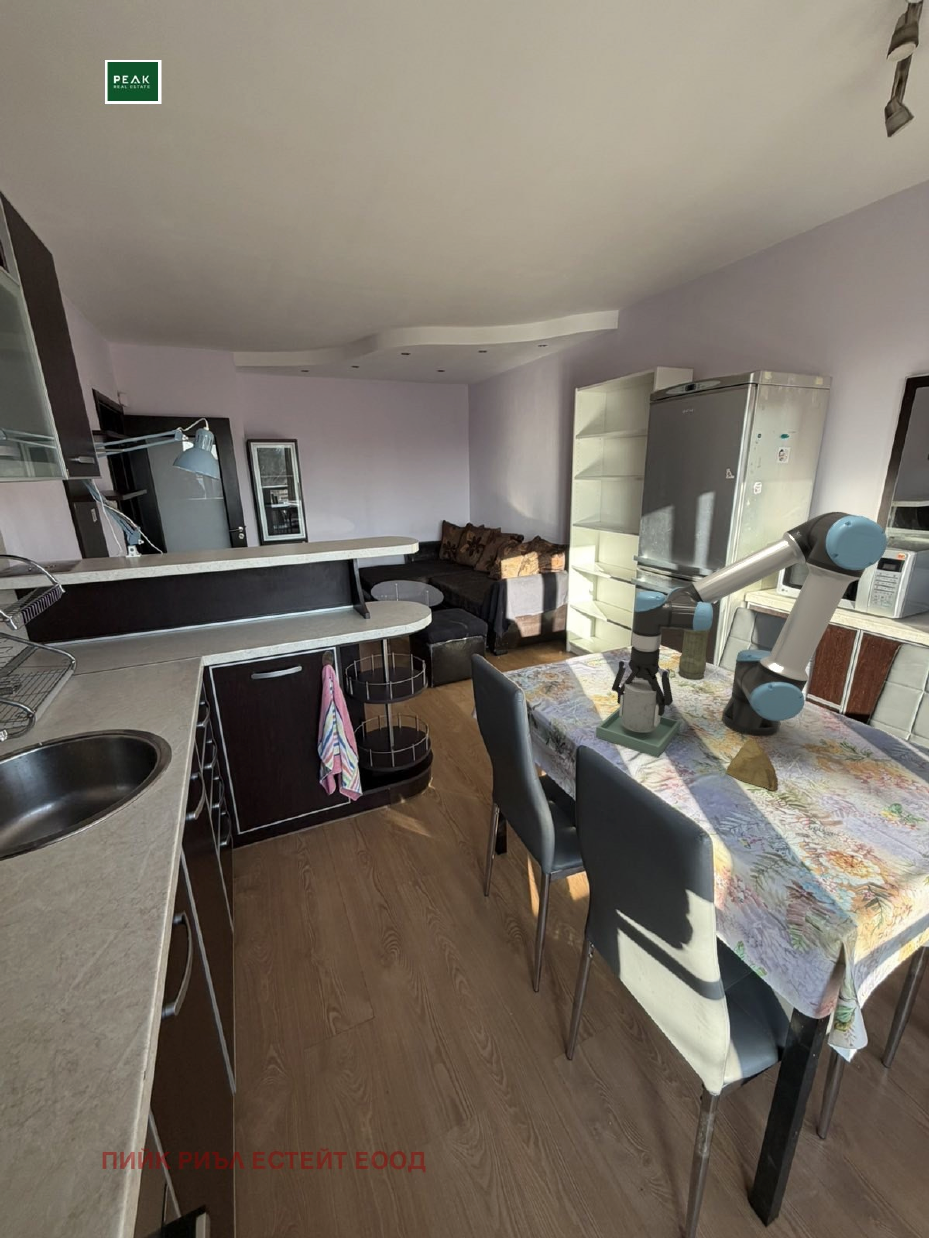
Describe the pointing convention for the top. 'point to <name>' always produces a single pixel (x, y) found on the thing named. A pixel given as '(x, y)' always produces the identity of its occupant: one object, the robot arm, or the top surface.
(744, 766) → the rock
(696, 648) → the thermos
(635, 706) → the speckled white canister
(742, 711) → the robot arm
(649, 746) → the tray
